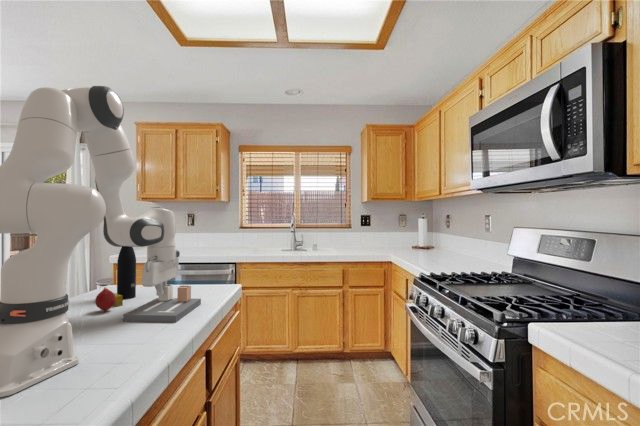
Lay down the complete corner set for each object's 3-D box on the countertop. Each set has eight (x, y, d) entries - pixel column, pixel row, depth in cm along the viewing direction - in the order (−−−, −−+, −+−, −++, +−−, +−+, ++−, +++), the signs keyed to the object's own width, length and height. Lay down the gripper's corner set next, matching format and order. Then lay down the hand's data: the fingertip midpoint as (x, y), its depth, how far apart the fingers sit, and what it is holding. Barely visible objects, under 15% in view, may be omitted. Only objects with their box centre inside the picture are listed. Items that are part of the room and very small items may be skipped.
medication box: (100, 302, 132) (100, 291, 132) (108, 300, 134) (108, 290, 134) (115, 307, 124) (114, 296, 124) (123, 306, 127) (123, 294, 127)
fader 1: (167, 300, 125) (167, 286, 125) (158, 300, 125) (158, 286, 125) (172, 298, 129) (172, 284, 129) (163, 297, 129) (163, 284, 129)
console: (176, 322, 108) (176, 315, 108) (123, 321, 108) (123, 314, 108) (200, 304, 130) (200, 298, 130) (156, 303, 130) (156, 297, 130)
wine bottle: (119, 296, 141) (120, 219, 141) (137, 295, 143) (138, 219, 143) (115, 299, 135) (116, 220, 135) (133, 298, 137) (135, 220, 137)
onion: (119, 309, 122) (119, 285, 122) (107, 314, 116) (108, 289, 116) (103, 308, 122) (103, 285, 122) (90, 313, 116) (91, 288, 116)
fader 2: (186, 301, 124) (186, 287, 124) (177, 301, 124) (177, 287, 124) (190, 298, 128) (191, 284, 128) (181, 298, 128) (182, 284, 128)
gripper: (156, 258, 113) (156, 302, 113) (181, 251, 133) (181, 288, 133) (136, 258, 113) (136, 302, 113) (165, 251, 133) (164, 288, 133)
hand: (160, 294), depth 123 cm, fingers closed
